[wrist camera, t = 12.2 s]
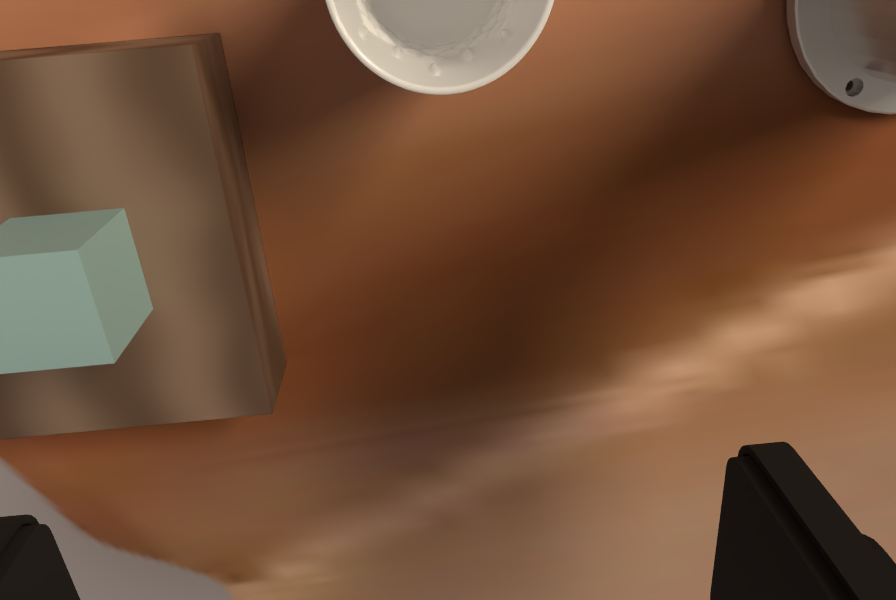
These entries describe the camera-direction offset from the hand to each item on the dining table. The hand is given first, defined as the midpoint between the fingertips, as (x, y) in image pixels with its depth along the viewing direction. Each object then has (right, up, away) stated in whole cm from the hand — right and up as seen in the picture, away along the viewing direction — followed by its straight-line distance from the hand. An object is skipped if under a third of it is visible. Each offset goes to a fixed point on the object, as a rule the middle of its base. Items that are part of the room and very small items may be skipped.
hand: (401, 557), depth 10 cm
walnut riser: (-16, +7, +27) cm, 32 cm away
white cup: (0, +19, +23) cm, 29 cm away
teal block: (-16, +5, +22) cm, 28 cm away
